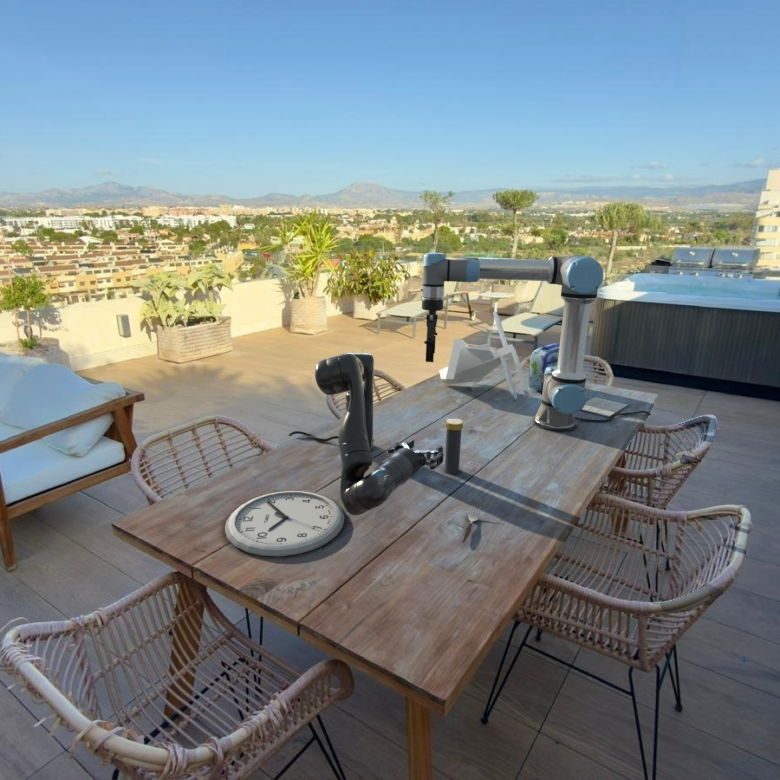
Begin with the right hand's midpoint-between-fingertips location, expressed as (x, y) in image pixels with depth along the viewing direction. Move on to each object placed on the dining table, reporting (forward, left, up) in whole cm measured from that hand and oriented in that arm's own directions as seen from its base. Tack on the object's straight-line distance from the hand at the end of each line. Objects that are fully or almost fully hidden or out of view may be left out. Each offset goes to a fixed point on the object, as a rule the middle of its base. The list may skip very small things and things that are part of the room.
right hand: (430, 357), depth 190 cm
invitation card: (-73, -38, -28) cm, 87 cm away
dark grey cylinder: (-9, +34, -28) cm, 45 cm away
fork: (-14, +67, -28) cm, 74 cm away
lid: (-9, +34, -12) cm, 37 cm away
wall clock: (+33, +71, -28) cm, 83 cm away
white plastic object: (-22, -50, -28) cm, 61 cm away
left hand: (-2, +52, -12) cm, 54 cm away
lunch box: (-55, -63, -28) cm, 89 cm away
